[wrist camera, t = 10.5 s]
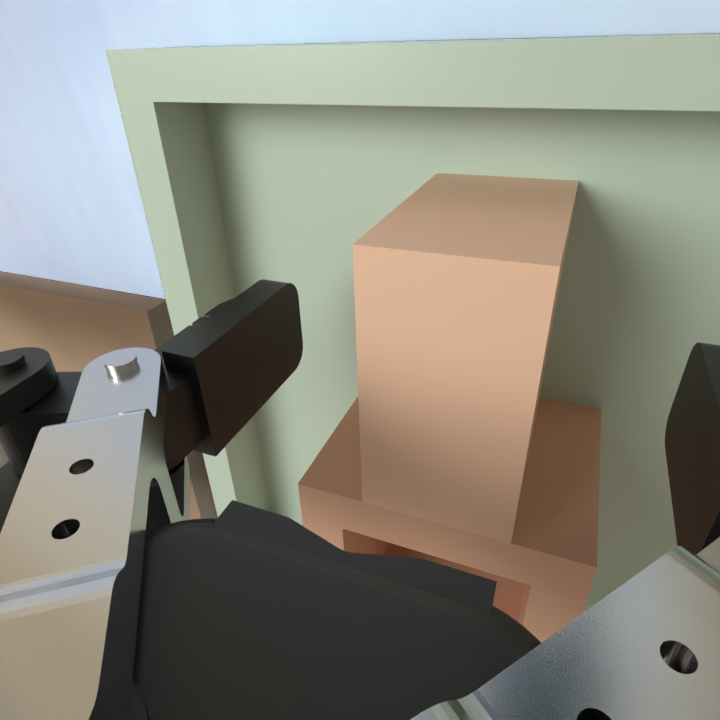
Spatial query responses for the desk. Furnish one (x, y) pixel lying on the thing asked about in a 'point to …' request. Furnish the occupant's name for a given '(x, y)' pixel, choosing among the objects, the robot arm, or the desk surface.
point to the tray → (406, 175)
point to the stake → (90, 339)
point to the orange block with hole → (466, 401)
